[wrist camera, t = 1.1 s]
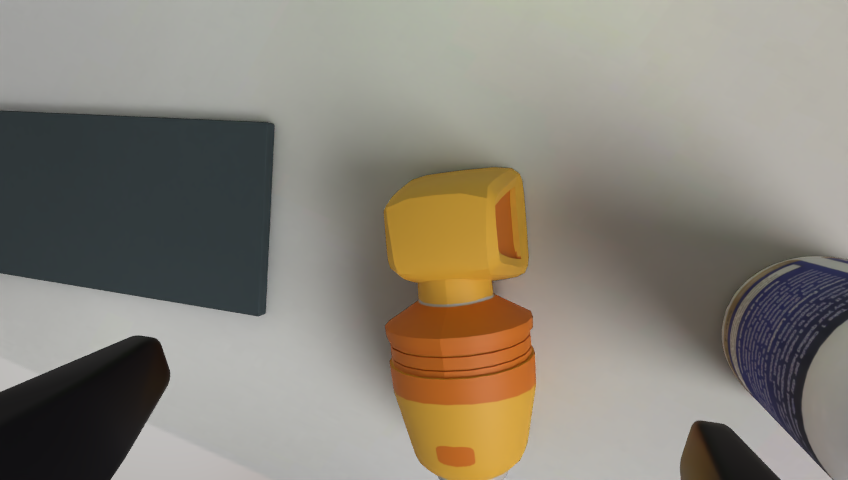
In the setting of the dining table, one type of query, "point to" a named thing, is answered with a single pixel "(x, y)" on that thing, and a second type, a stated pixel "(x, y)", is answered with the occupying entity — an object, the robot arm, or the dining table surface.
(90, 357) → the robot arm
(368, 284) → the dining table surface
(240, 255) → the mat
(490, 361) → the multicoloured piece
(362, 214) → the dining table surface
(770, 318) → the pill bottle
